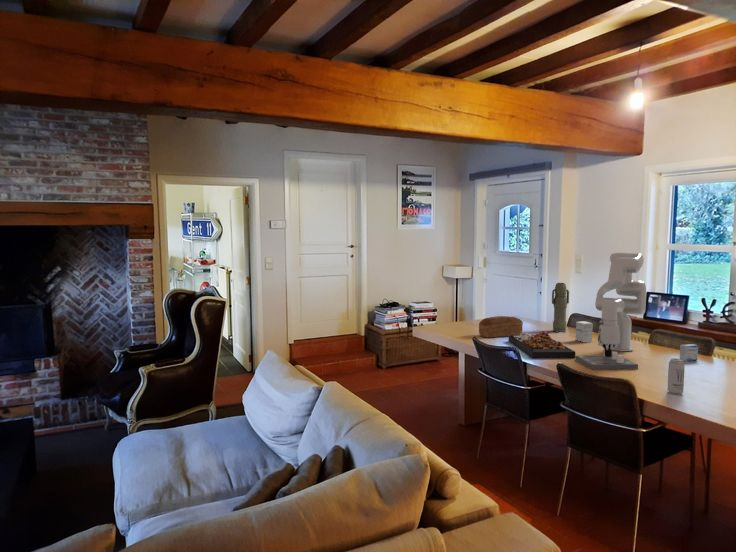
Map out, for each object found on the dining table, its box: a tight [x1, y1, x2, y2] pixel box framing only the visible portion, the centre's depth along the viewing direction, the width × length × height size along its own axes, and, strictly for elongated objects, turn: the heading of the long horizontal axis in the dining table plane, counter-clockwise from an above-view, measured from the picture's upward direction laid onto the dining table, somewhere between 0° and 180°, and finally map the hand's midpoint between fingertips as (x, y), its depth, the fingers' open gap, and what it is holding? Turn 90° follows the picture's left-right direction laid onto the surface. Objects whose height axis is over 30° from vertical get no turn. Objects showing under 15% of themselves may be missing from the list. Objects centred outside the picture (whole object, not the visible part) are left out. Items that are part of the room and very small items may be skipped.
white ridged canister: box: [575, 320, 594, 343], centre depth 329 cm, size 7×7×13 cm
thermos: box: [551, 282, 570, 333], centre depth 361 cm, size 9×12×35 cm
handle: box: [617, 354, 625, 363], centre depth 265 cm, size 2×3×4 cm, turn 92°
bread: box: [478, 315, 524, 338], centre depth 348 cm, size 12×31×14 cm, turn 105°
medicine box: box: [679, 343, 699, 362], centre depth 280 cm, size 8×4×9 cm, turn 105°
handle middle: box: [611, 351, 619, 360], centre depth 272 cm, size 2×3×4 cm, turn 92°
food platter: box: [507, 329, 576, 360], centre depth 308 cm, size 45×25×10 cm, turn 1°
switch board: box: [575, 354, 639, 371], centre depth 272 cm, size 20×24×3 cm
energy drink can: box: [667, 357, 686, 396], centre depth 223 cm, size 6×6×15 cm
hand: (607, 356), depth 272 cm, fingers closed
